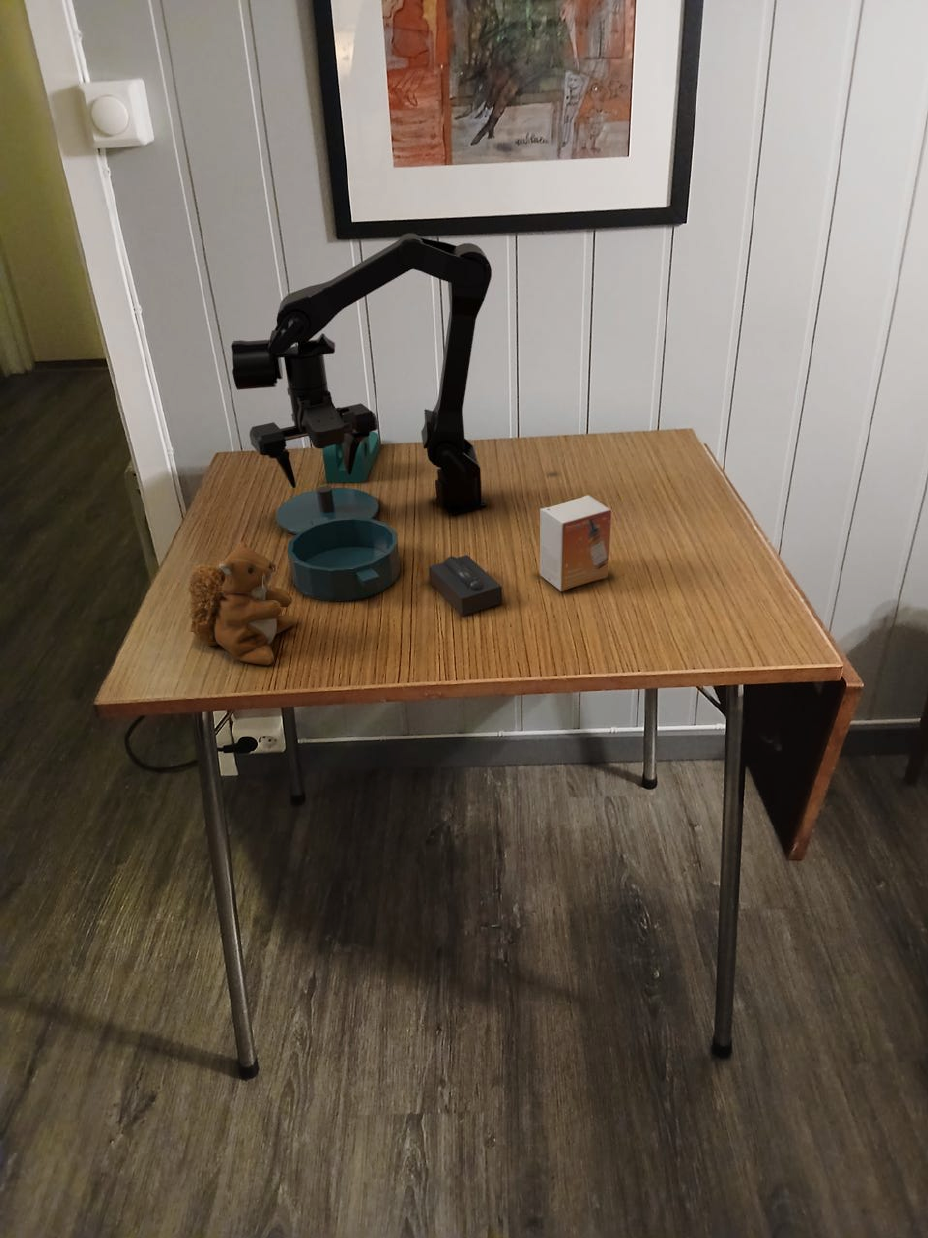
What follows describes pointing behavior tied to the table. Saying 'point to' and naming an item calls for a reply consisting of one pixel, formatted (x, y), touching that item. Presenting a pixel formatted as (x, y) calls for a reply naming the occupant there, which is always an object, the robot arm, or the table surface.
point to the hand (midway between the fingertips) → (321, 480)
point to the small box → (574, 542)
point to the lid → (325, 507)
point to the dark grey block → (465, 585)
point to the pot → (344, 558)
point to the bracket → (361, 463)
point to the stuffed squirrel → (239, 606)
